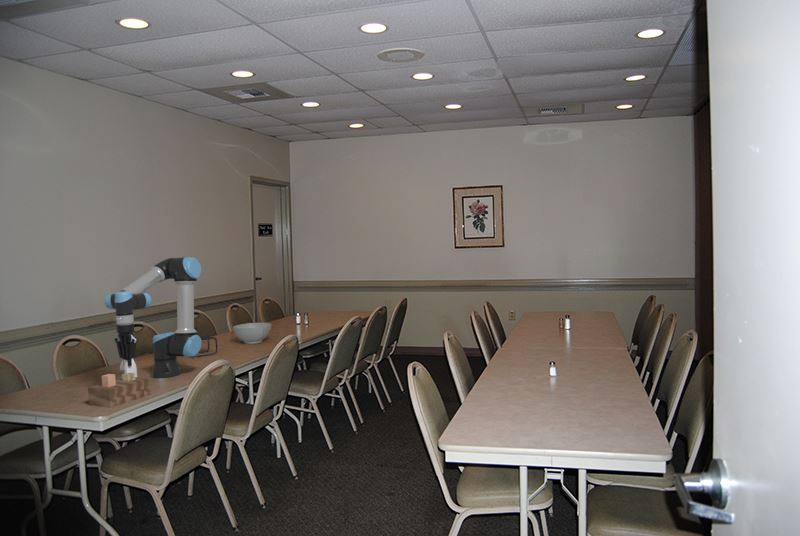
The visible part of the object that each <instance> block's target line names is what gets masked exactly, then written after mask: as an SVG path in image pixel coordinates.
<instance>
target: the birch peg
mask: <svg viewBox="0 0 800 536" xmlns="http://www.w3.org/2000/svg"><path fill="white" fill-rule="evenodd" d="M132 380H135V373H128V374H122V381H127V382H129V381H132Z"/></svg>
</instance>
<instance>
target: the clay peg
mask: <svg viewBox="0 0 800 536" xmlns="http://www.w3.org/2000/svg"><path fill="white" fill-rule="evenodd" d="M116 380H117V379H116V373H115V374H114V373H107V374H103V375H101V384H102V387H111V386H115V385H116Z"/></svg>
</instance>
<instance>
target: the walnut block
mask: <svg viewBox="0 0 800 536" xmlns="http://www.w3.org/2000/svg"><path fill="white" fill-rule="evenodd" d="M115 380H116V385H115V386H111V387H102V383H100V384H97V385H94V386H89V387H87V391H88V392H87V393H88V405H89V406H95V407H104V408H109V409H110V408H113V407H117V406H120V405H122V404H125V403H129V402H132V401H136V400H138V399H142V398H144V397H147V396H151V395H150V394H151V392H150V391H151V390H150V379H149V377H138V376H137V377H135V380H132V381H129V382H127V381H122V378H121V379H120V378H117V379H115Z"/></svg>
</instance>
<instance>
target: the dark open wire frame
mask: <svg viewBox="0 0 800 536" xmlns="http://www.w3.org/2000/svg"><path fill="white" fill-rule="evenodd" d="M194 329H195V330H196V331H197V332H198V327H197V325H196V324H195V323H194ZM199 336H200V339H201V341H207V350H205V351H199V352H198V353H201V354H200V355H195V356H192V357H191V358H190V359H195V358H194V357H198V358H203V357H202V356H204V357H208V355H209V356H214V354H215V355H216V354H217V353H218V352H219V351H218V350H219V349H218V339H217V338H216V337H214V336H208V335H206V334H205V335H204V334H203V335H199ZM210 340H214V341H215V351H214V352H212V353H208V352H210ZM205 352H206V354H205ZM207 353H208V354H207Z"/></svg>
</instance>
